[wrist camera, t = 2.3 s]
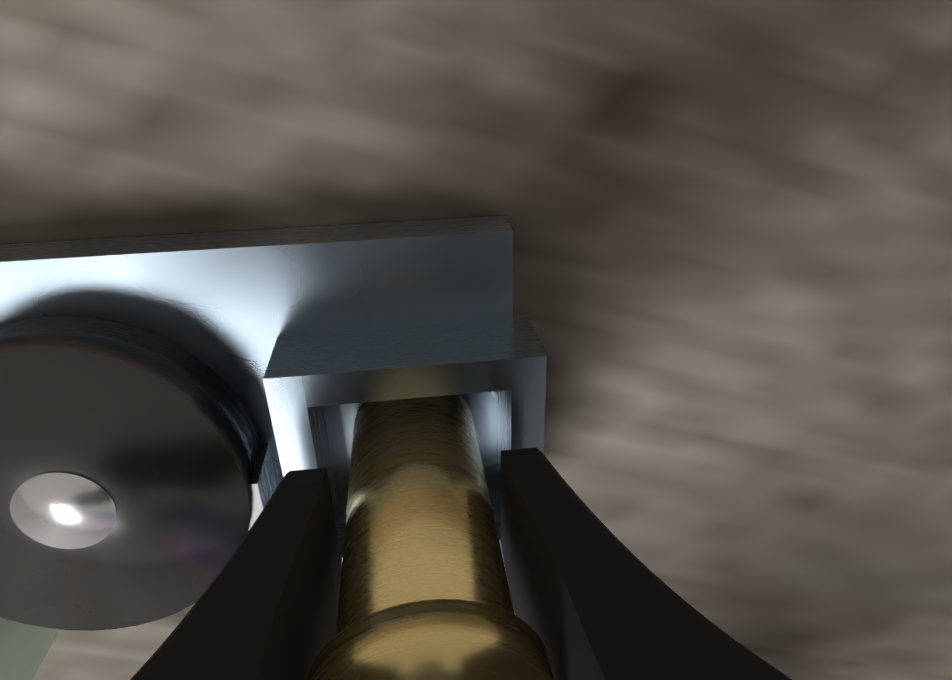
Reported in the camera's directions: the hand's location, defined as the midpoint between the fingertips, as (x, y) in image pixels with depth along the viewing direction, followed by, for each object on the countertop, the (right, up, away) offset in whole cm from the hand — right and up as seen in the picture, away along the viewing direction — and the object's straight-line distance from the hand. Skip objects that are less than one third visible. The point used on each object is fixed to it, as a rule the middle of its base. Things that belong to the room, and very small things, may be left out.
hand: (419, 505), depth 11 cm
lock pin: (0, +1, +2) cm, 2 cm away
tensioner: (-3, +1, +2) cm, 4 cm away
